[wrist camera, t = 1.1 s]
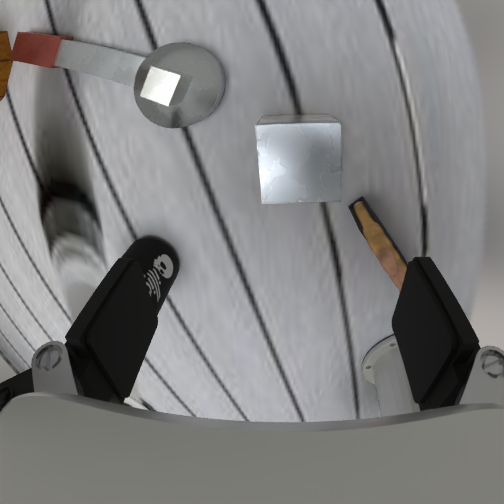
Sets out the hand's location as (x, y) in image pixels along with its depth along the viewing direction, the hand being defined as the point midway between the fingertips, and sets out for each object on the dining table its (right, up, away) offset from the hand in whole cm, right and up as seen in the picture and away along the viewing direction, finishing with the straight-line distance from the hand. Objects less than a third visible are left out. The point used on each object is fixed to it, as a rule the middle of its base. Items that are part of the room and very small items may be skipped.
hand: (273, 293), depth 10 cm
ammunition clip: (+13, +3, +21) cm, 25 cm away
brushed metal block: (+3, +11, +17) cm, 21 cm away
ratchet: (-16, +21, +13) cm, 29 cm away
